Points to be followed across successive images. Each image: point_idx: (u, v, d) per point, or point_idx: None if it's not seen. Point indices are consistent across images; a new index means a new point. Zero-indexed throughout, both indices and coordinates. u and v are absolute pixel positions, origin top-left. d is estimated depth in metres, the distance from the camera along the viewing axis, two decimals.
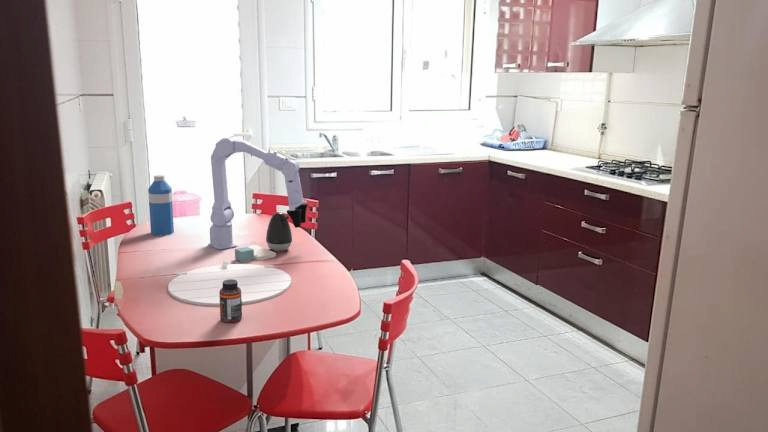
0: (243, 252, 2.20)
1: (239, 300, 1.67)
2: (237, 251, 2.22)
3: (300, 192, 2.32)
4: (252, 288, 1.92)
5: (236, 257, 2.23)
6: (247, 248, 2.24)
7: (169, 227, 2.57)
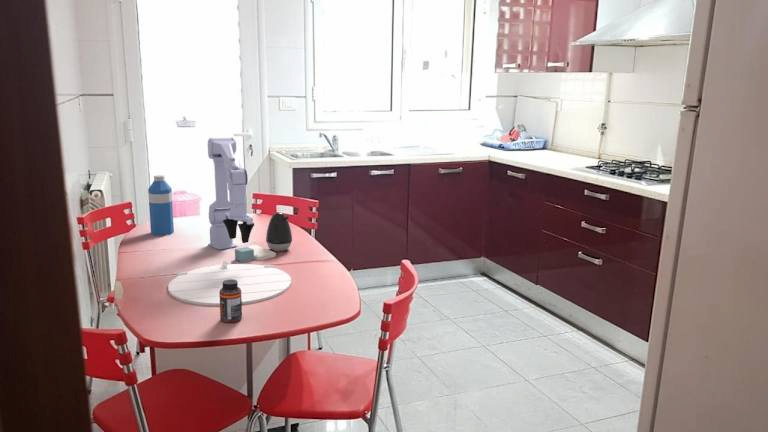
0: (243, 252, 2.20)
1: (239, 300, 1.67)
2: (237, 251, 2.22)
3: (230, 205, 2.11)
4: (252, 288, 1.92)
5: (236, 257, 2.23)
6: (247, 248, 2.24)
7: (169, 227, 2.57)
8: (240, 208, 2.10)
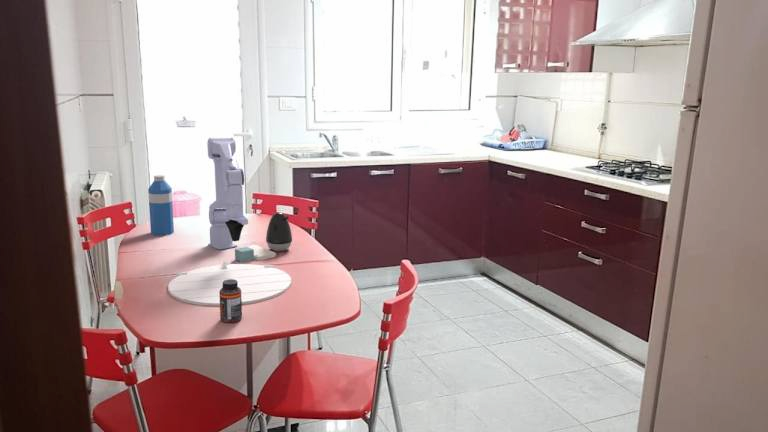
0: (243, 252, 2.20)
1: (239, 300, 1.67)
2: (237, 251, 2.22)
3: (226, 205, 2.11)
4: (252, 288, 1.92)
5: (236, 257, 2.23)
6: (247, 248, 2.24)
7: (169, 227, 2.57)
8: (236, 209, 2.10)
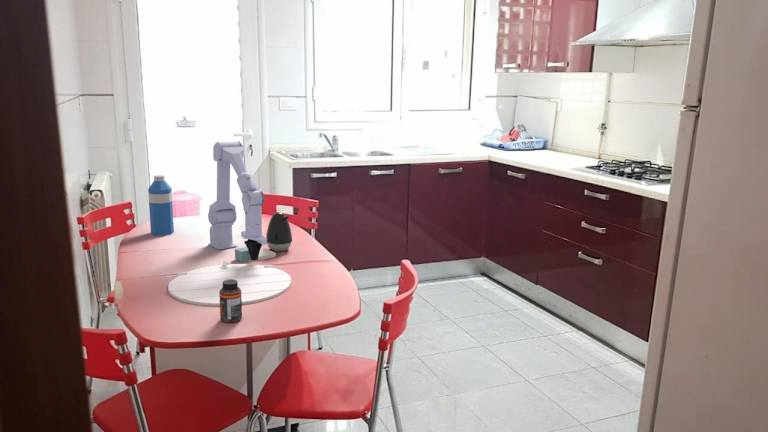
0: (243, 252, 2.20)
1: (239, 300, 1.67)
2: (237, 251, 2.22)
3: (245, 225, 2.15)
4: (252, 288, 1.92)
5: (236, 257, 2.23)
6: (247, 248, 2.24)
7: (169, 227, 2.57)
8: (255, 229, 2.14)
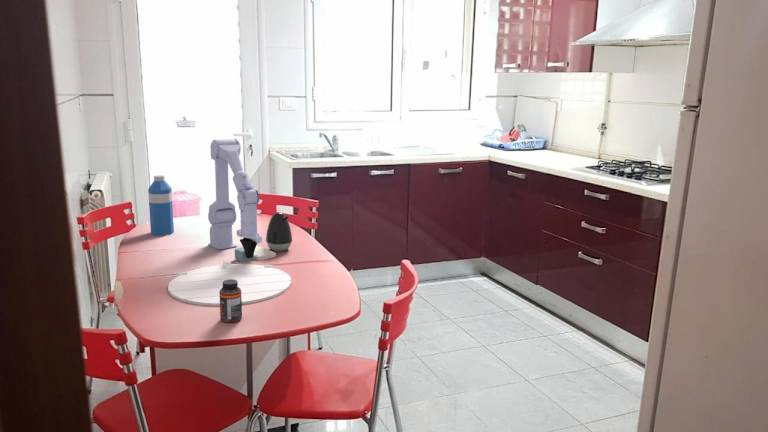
0: (243, 252, 2.20)
1: (239, 300, 1.67)
2: (237, 251, 2.22)
3: (241, 224, 2.17)
4: (252, 288, 1.92)
5: (236, 257, 2.23)
6: None
7: (169, 227, 2.57)
8: (251, 227, 2.16)
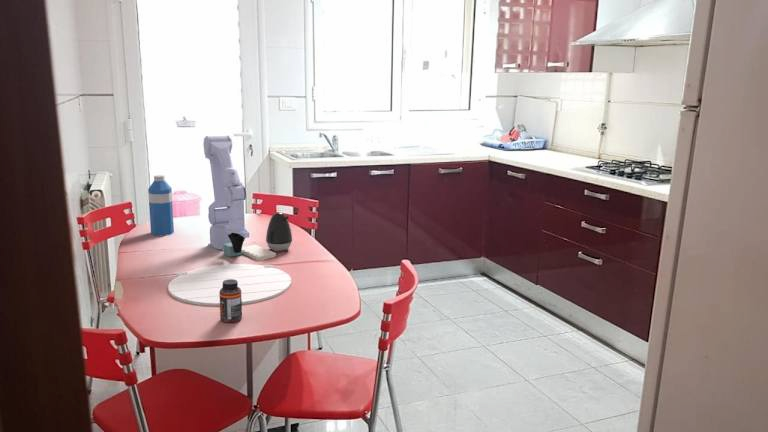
0: (231, 247, 2.27)
1: (239, 300, 1.67)
2: (225, 246, 2.28)
3: (228, 219, 2.23)
4: (252, 288, 1.92)
5: (224, 252, 2.30)
6: None
7: (169, 227, 2.57)
8: (238, 222, 2.22)
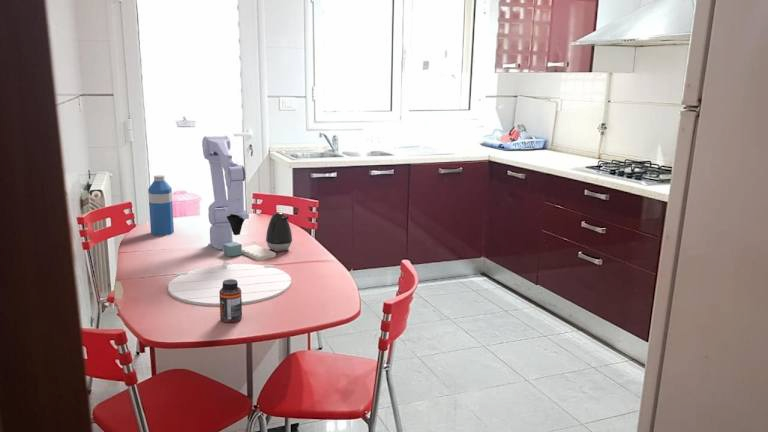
0: (231, 247, 2.27)
1: (239, 300, 1.67)
2: (225, 246, 2.28)
3: (227, 200, 2.20)
4: (252, 288, 1.92)
5: (224, 252, 2.30)
6: (235, 244, 2.30)
7: (169, 227, 2.57)
8: (237, 204, 2.19)
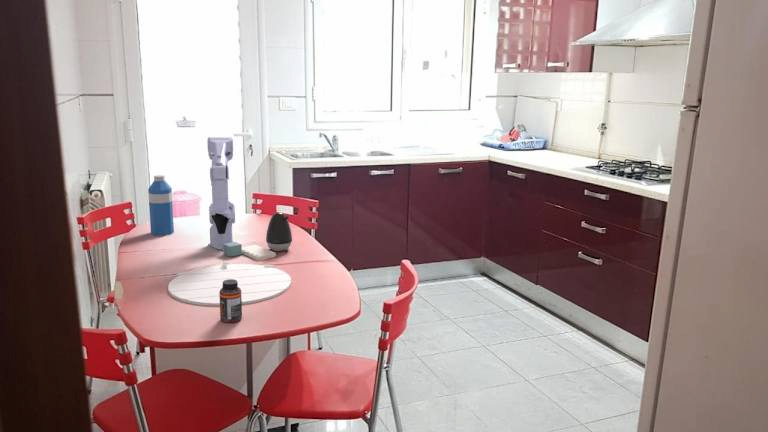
0: (231, 247, 2.27)
1: (239, 300, 1.67)
2: (225, 246, 2.28)
3: (212, 200, 2.20)
4: (252, 288, 1.92)
5: (224, 252, 2.30)
6: (235, 244, 2.30)
7: (169, 227, 2.57)
8: (222, 203, 2.19)
